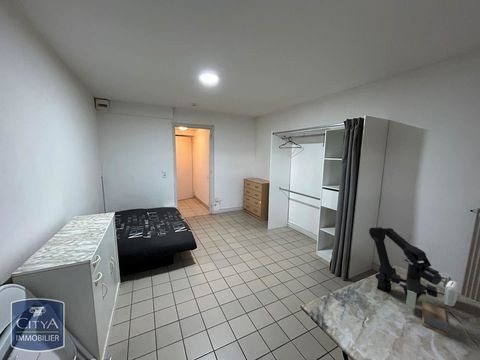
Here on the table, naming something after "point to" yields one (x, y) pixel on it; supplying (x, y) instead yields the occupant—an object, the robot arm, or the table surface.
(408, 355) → the table surface
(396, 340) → the table surface
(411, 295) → the book
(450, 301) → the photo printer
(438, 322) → the bookend
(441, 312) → the shelf board
